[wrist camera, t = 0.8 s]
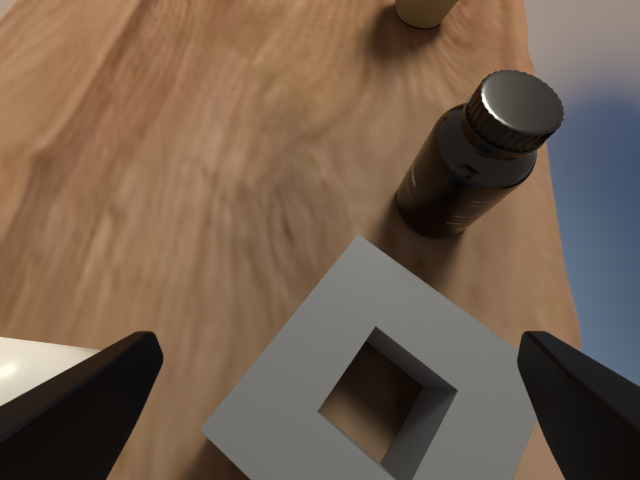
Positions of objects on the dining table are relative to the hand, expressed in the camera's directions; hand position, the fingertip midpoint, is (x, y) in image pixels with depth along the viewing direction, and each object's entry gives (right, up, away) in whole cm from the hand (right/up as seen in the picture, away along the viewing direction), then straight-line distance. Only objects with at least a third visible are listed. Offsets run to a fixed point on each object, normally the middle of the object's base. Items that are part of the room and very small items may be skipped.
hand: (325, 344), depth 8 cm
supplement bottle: (+10, +5, +20) cm, 23 cm away
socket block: (+3, -8, +14) cm, 16 cm away
